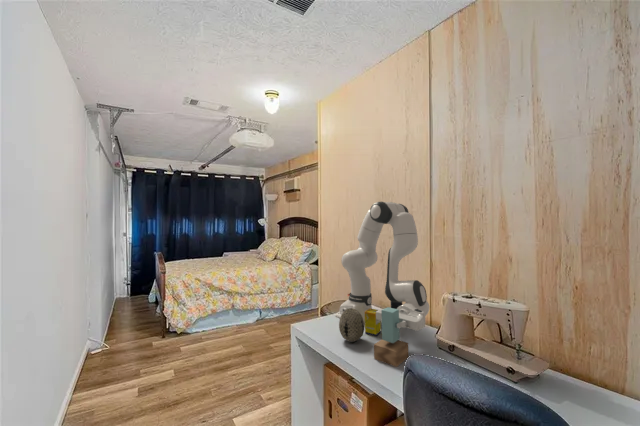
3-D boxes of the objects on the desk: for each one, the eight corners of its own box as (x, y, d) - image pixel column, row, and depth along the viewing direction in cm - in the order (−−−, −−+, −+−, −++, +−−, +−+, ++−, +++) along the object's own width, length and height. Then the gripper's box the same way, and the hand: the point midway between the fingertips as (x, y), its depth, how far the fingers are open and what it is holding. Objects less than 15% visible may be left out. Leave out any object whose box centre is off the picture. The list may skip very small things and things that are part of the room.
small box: (403, 321, 157) (402, 302, 157) (391, 321, 159) (390, 301, 159) (401, 315, 168) (401, 296, 168) (390, 314, 169) (389, 296, 169)
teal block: (382, 339, 118) (381, 310, 118) (388, 335, 122) (388, 307, 122) (393, 343, 114) (392, 312, 115) (399, 339, 118) (398, 309, 118)
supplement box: (370, 329, 148) (369, 308, 148) (381, 332, 144) (380, 309, 144) (364, 333, 143) (364, 311, 143) (376, 336, 139) (375, 313, 139)
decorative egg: (368, 338, 137) (367, 306, 137) (358, 348, 127) (357, 314, 127) (346, 333, 143) (345, 303, 143) (334, 342, 133) (334, 310, 133)
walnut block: (374, 359, 118) (373, 344, 118) (386, 350, 125) (386, 336, 125) (396, 367, 111) (396, 351, 111) (408, 357, 118) (408, 342, 118)
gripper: (385, 303, 135) (367, 310, 125) (428, 312, 120) (412, 322, 110) (385, 316, 135) (368, 325, 125) (428, 328, 120) (412, 338, 110)
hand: (389, 323), depth 117 cm, fingers closed on teal block, 5 cm apart
